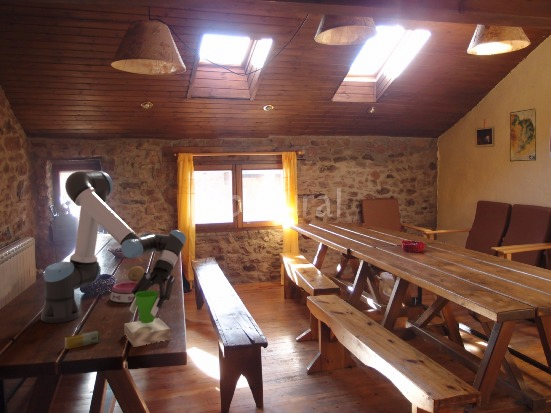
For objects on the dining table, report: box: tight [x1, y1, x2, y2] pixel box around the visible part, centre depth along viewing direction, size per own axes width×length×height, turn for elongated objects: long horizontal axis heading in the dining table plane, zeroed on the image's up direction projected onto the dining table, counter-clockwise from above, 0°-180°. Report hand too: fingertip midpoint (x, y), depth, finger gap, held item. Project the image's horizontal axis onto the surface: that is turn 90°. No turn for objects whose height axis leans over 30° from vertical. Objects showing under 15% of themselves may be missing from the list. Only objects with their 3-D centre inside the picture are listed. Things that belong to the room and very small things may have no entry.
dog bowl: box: [109, 281, 138, 304], centre depth 234 cm, size 18×19×7 cm
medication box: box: [64, 330, 101, 350], centre depth 175 cm, size 12×3×4 cm, turn 127°
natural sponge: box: [127, 265, 146, 282], centre depth 260 cm, size 9×9×10 cm
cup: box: [135, 290, 160, 323], centre depth 182 cm, size 9×9×11 cm
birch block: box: [123, 317, 171, 348], centre depth 183 cm, size 14×14×5 cm
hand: (142, 312), depth 179 cm, fingers closed on cup, 9 cm apart
